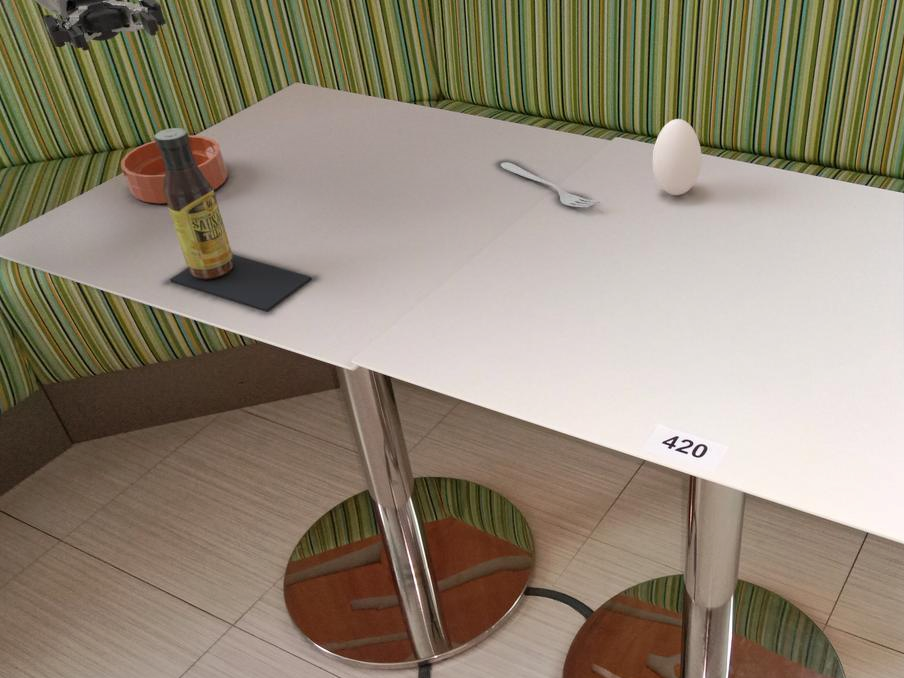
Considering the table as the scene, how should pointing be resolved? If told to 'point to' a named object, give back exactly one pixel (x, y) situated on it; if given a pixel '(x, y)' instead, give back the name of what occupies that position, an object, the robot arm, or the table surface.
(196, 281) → the mat
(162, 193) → the bowl
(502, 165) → the fork
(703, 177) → the table surface
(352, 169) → the table surface
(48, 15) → the robot arm
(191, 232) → the sauce bottle
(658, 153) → the egg
